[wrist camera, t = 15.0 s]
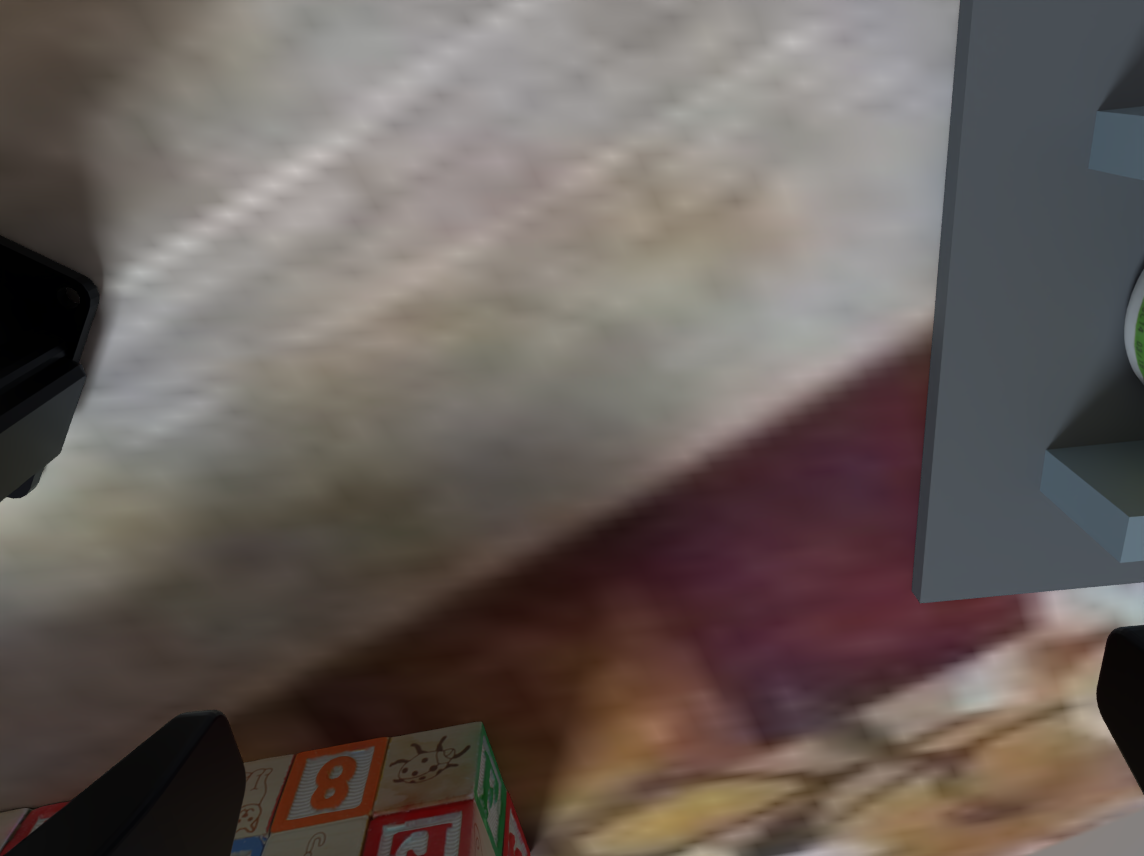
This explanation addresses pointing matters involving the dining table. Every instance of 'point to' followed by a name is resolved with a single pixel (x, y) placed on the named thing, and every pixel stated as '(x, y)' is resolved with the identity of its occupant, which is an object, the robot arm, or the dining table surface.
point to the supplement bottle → (1136, 329)
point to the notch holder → (1037, 307)
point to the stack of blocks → (365, 801)
